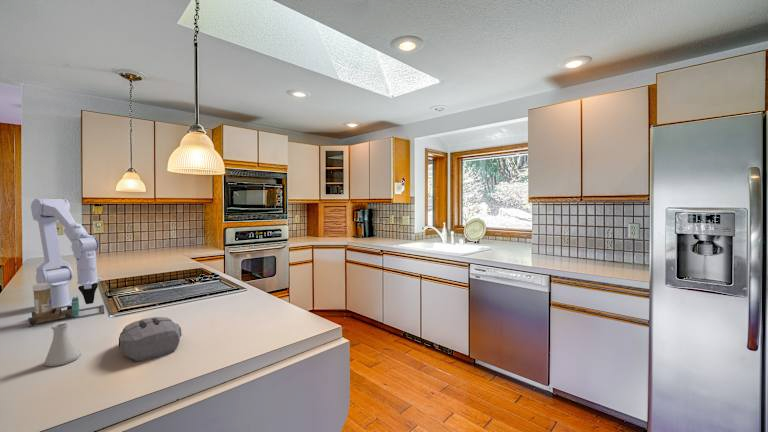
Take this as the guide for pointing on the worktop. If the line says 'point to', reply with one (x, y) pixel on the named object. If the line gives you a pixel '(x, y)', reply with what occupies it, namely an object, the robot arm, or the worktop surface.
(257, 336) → the worktop surface
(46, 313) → the sprinkles bottle
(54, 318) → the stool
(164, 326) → the grey rounded bag
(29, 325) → the dark grey flat frame
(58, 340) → the flask
